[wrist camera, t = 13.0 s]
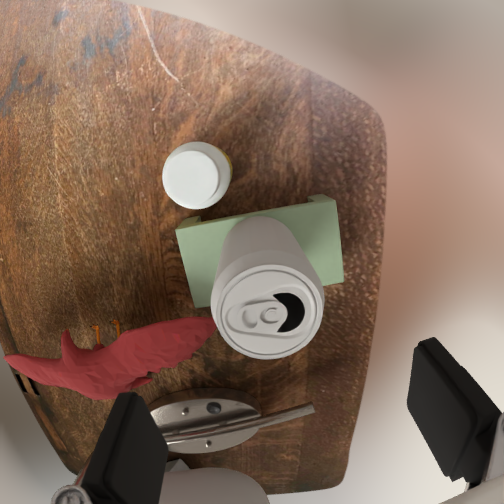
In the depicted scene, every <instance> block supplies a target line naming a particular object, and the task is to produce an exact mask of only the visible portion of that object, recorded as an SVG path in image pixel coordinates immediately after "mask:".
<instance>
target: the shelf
mask: <svg viewBox="0 0 504 504" xmlns="http://www.w3.org/2000/svg"><path fill="white" fill-rule="evenodd" d="M307 199H308V203H303V204H297V205H291V206H285V207H280V208H274V209H268V210H263V211H257V212H252V213H246V214H241V215H235V216H230V217H225V218H219V219H214V220H209V221H204V222H201V217H200V216H196V217H191V218H186V219H184V220H183V222H182V223H181V224H180V225H179V226H178V227H177V228H176V229H175V231H176V236H177V240H178V244H179V248H180V252H181V256H182V260H183V264H184V268H185V272H186V276H187V280H188V283H189V287H190V291H191V295H192V298H193V302H194V306H195V308H201V307H208V306H211V295H212V290H213V285H214V281H215V276H216V272H217V268H218V263H219V259H220V255H221V250H222V246H223V242H224V240H225V237H226V236H227V234H228V233H229V231H230V230H231V229H232V228H233V227H234V226H235V225H236V224H238V223H239V222H241V221H242V220H245V219H247V218H251V217H255V216H265V217H270V218H273V219H276V220H278V221H280V222H281V223H283V224H284V225H285V226H287V227H288V228H289V230H290V231H291V232H292V234H293V235H294V237H295V239H296V240H297V242H298V244H299V245H300V247H301V248H302V250H303V252H304V253H305V255H306V257H307V258H308V260H309V262H310V263H311V265H312V267H313V268H314V270H315V272H316V273H317V275H318V277H319V279H320V281H321V283H322V286H325V285H330V284H335V283H340V282H344V272H343V261H342V250H341V241H340V231H339V222H338V214H337V206H336V201H335V200H333V199H332V198H330V197H328V196H326V195H324V194H318V195H312V196H307Z"/></svg>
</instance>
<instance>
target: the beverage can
mask: <svg viewBox="0 0 504 504" xmlns="http://www.w3.org/2000/svg"><path fill="white" fill-rule="evenodd" d="M323 308H324V290H323V286H322V283H321V281H320V279H319V277H318V275H317V273H316V272H315V270H314V268H313V267H312V265H311V263H310V262H309V260H308V258H307V257H306V255H305V253H304V252H303V250H302V248H301V247H300V245H299V244H298V242H297V240H296V239H295V237H294V235H293V234H292V232H291V231H290V230H289V228H288V227H287V226H285V225H284V224H283V223H281V222H280V221H278V220H276V219H273V218H270V217H265V216H255V217H251V218H247V219H245V220H242V221H241V222H239V223H238V224H236V225H235V226H234V227H233V228H232V229H231V230H230V231H229V233H228V234H227V236H226V237H225V240H224V242H223V246H222V250H221V255H220V259H219V263H218V268H217V272H216V276H215V281H214V285H213V290H212V295H211V311H212V315H213V319H214V321H215V323H216V325H217V327H218V329H219V331H220V333H221V335H222V337H223V338H224V339H225V341H226V342H227V343H228V344H229V345H230V346H231V347H232V348H234V349H235V350H237V351H238V352H240V353H242V354H244V355H247V356H249V357H253V358H258V359H277V358H282V357H285V356H288V355H291V354H293V353H295V352H297V351H298V350H300V349H301V348H303V347H304V346H305V345H307V344H308V343H309V342H310V341H311V339H312V338H313V337H314V335H315V334H316V332H317V330H318V328H319V326H320V324H321V320H322V315H323Z"/></svg>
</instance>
